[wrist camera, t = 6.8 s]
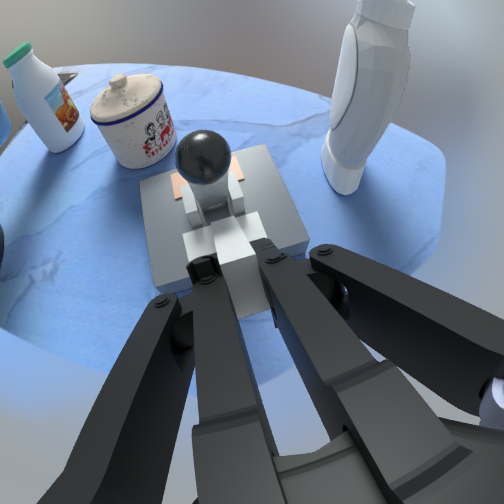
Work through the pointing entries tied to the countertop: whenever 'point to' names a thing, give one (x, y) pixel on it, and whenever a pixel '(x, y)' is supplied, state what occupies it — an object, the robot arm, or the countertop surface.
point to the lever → (205, 167)
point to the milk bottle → (44, 100)
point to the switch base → (216, 216)
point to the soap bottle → (366, 88)
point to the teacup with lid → (135, 120)
